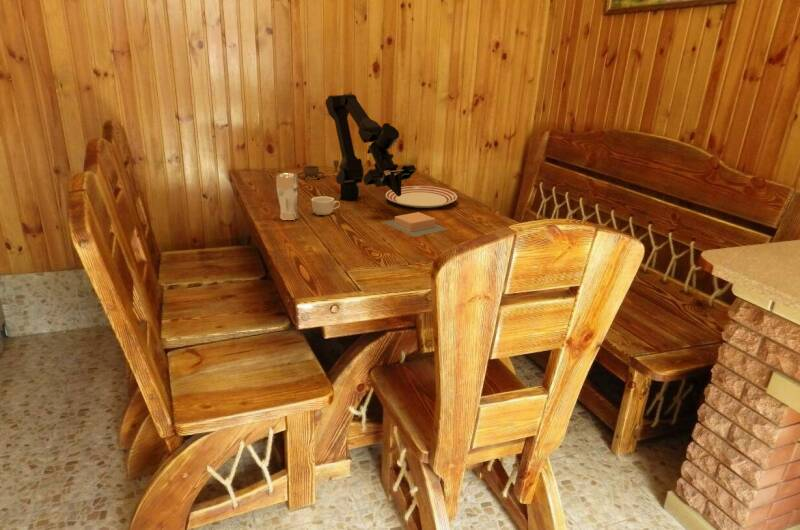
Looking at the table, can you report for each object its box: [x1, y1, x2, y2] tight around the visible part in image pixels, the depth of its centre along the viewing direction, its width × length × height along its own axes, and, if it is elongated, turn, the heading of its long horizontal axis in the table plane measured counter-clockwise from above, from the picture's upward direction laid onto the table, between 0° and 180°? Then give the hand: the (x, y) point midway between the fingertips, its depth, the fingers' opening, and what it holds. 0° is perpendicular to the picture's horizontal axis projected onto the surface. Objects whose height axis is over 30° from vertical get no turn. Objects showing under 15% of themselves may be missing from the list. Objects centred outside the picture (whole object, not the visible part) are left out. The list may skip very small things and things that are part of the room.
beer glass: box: [275, 172, 299, 221], centre depth 180 cm, size 7×7×15 cm
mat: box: [382, 219, 449, 238], centre depth 177 cm, size 18×14×1 cm
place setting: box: [297, 160, 340, 179], centre depth 243 cm, size 18×20×6 cm
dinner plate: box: [385, 185, 458, 209], centre depth 206 cm, size 28×27×3 cm
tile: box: [394, 211, 436, 232], centre depth 177 cm, size 3×10×9 cm
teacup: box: [310, 195, 341, 216], centre depth 188 cm, size 10×8×5 cm
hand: (399, 195), depth 181 cm, fingers closed
